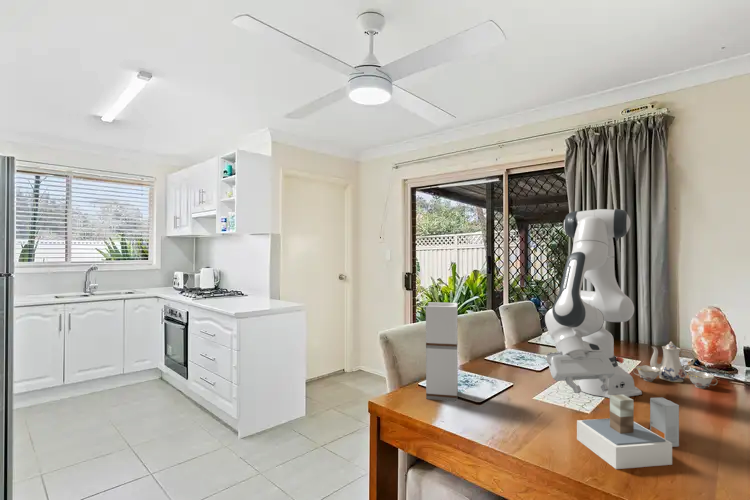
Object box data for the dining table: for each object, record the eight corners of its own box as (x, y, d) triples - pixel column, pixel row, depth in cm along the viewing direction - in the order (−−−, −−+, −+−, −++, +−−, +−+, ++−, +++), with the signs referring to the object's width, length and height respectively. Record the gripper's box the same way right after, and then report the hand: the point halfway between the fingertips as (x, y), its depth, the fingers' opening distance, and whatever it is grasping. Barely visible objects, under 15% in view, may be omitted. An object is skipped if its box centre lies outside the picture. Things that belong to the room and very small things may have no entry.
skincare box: (649, 437, 119) (649, 397, 119) (662, 436, 120) (662, 396, 119) (665, 447, 113) (665, 405, 113) (679, 447, 114) (679, 405, 113)
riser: (626, 435, 120) (626, 415, 120) (672, 464, 104) (672, 441, 104) (576, 439, 118) (576, 419, 118) (616, 469, 102) (615, 445, 102)
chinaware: (636, 386, 167) (637, 348, 165) (629, 371, 182) (630, 335, 180) (721, 396, 156) (723, 355, 154) (706, 378, 171) (707, 341, 169)
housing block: (622, 426, 114) (622, 394, 114) (633, 432, 110) (633, 399, 110) (609, 426, 113) (609, 395, 113) (620, 433, 109) (620, 400, 109)
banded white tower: (457, 391, 158) (457, 302, 158) (457, 401, 148) (456, 306, 148) (428, 389, 161) (428, 302, 161) (426, 398, 151) (425, 306, 150)
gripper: (547, 347, 130) (565, 388, 120) (605, 345, 132) (627, 385, 123) (540, 357, 134) (556, 397, 124) (596, 355, 137) (617, 394, 127)
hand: (592, 391), depth 124 cm, fingers open, 8 cm apart
